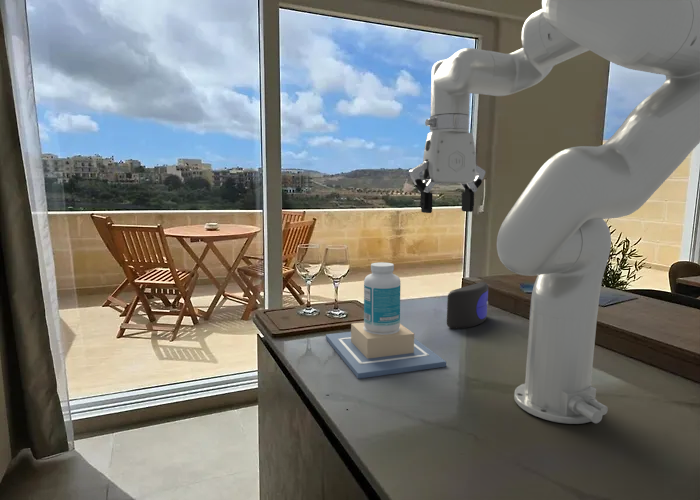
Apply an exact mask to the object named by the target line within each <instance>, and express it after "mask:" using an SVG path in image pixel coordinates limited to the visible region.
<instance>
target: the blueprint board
mask: <svg viewBox="0 0 700 500" xmlns="http://www.w3.org/2000/svg"><path fill="white" fill-rule="evenodd" d="M325 340H326V341H327V342H328V344H329V345H330V346H331V347H332V348H333V350H334V351H335V352H336V354H337V355H338V356H339V357H340V358H341V359H342V361H343V362H344V363H345V364H346V366H347V367H348V368H349V370H350V371H351V372H352V373H353V374H354V376H355V377H356V378H357V379H358V380H359V379H365V378H371V377H372V378H373V377H379V376H386V375H388V376H389V375H393V374H395V375H396V374H402V373H408V372H415V371H417V372H418V371H424V370H430V369H436V368H437V369H438V368H444V367H447V361H446V360H445V359H444V358H442V357H441V356H439V355H438V354H437V353H435V352H434V351H432V350H431V349H430V348H429V347H427V346H426V345H424V343H422V342H421V341H419V340H418V339H416V338H415V333H414V332H412V331H411V330H410V329H408V328H407V327H405V325H403V324H402V323H400V327H399V329H397V330H396V331H393V332H389V333H376V332H372V331H369V330H367V329H366V328H365V326H364V321H363V322H356V323H355V322H353V323H350V331H346V332H338V333H326V334H325Z"/></svg>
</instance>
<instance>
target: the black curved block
mask: <svg viewBox="0 0 700 500" xmlns="http://www.w3.org/2000/svg"><path fill="white" fill-rule="evenodd" d="M488 299H489V285H488V283H487V282H485V281H480V282H477V283H474V284H469V285H466V286H463V287H460V288H456V289H452V290H451V291H449V293H448V294H447V301H446V303H447V305H446V325H447V327H448V328H449V329H451V330H452V329H454V330H460V329H468V328H472V327H476V326H478V325H480V324H483V322H485V321H486V319H487V316H488V305H489V301H488Z"/></svg>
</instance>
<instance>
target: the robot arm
mask: <svg viewBox="0 0 700 500" xmlns="http://www.w3.org/2000/svg"><path fill="white" fill-rule="evenodd" d="M520 40H521V45H522V47H521V48H520V49H516V50H515V51H513V52H510V53H503V52H498V51H493V50H487V49H486V50H485V49H480V48H479V49H478V48H472V47H471V48H470V47H467V48H462V49H459V50H457V51H456V52H454V53H453V54H452V55H451V56H450V57H448V58H446V59H441V60H439V61H437V62H435V63H434V64H433V65H432V68H431V83H430V85H431V87H430V116H429V118H426V119H425V121H424V122H425V123H424V125H425V126H426V127H429V132H427V136H426V139H425V145H424V150H423V159H422V163H420V164H418V165H417V166H414V167H413V168H411V169H410V170H409V171H408V174H409V176H410V179H411V180H412V183H413V185H414V186H415V188H416V189H417V191H418V193H420V200H419V201H420V204H419V205H420V208H421V209H420V210H421V211H420V212H421V213H424V214H432V212H433V196H434V195H433V193H432V192H431V190H432V189H433V188H434V186H436V184H460V186H461V187H462V189H463V191H462V192H461V211H462V212H467V213H469V212H470V213H472V212H474V205H475V203H474V202H475V193H476V192H478V188H479V187H480V186H481V185H482V183H483V179H484V178H485V175H486V173H487V172H486V170H485V169H483V168H482V167H480V166H479V165H477V164H476V163H477V162H476V161H477V160H476V159H477V158H476V147H475V141H474V140H475V139H474V136H473V135H474V134H473V132H470V128H469V127H470V104H471V103H470V100H471V99H470V97H471V96H470V95H471V94H476V95H484V96H485V95H487V96H494V97H505V96H509V95H514V94H516V93H519V92H522V91H523V90H527V89H529V88H531V87H534V86H536V85H537V84H539V83H540V82H542V81H543V80H544V79H545V78H546V77H547V76H548V75H549V74H550V73H551V71H552V69H553V68H554V67H555V66H556V65H558V64H561V63H563V62H565V61H567V60H570V59H572V58H574V57H577V56H579V55H581V54H583V53H586V52H589V51H591V52H592V53H594V54H596V55H598V56H599V57H601V58H603V59H605V60H607V61H608V62H610V63H612V64H615V65H617V66H620V67H622V68H625V69H629V70H633V71H639V72H645V73H650V74H656V75H663V76H665V81H664V82H663V83H662V84H661V86H659V87H658V89H656V90H655V91H653V92H652V93H651V94H649V95H648V96H647V97H646V98H644V99H643V100H642V101H641V102H639V103H638V104H637V105H636V106H635V108H634V109H632V111H630V113H629V114H628V115H627V117H626V118H625V120H624V121H623V122H622V124H621V125H620V126H619V127H618V129H616V131H615V132H614V133H613V135H612V136H611V137H610V138H609V139H608V140H607V141H605V143H604V144H601V145H598V146H595V145H594V146H591V145H590V146H589V145H588V146H587V145H583V146H580V145H578V146H572V147H569V148H565V149H563V150H560V151H559V152H557V153H555V154H553V155H552V156H551V157H550V158H548V160H546V161H545V162H544V163H543V164H542V165H541V166H540V168H539V169H538V170H537V172H536V173H535V174H534V175H533V177H532V178H531V180H530V181H529V183H528V184H527V186H526V187H525V189H524V190H523V191H522V193H521V194H520V196H519V197H518V198H517V200H516V202H514V204H513V206H512V207H511V209H510V210H509V212H508V213H507V215H506V216H505V218H504V219H503V221H502V223H501V225H500V227H499V230H498V233H497V237H496V253H497V255H498V258H499V260H500V262H501V263H502V265H503V266H504V267H505V268H506V269H507V270H509V271H510V272H512V273H514V274H517V275H520V276H530V277H531V276H536V279H535V281H534V284H533V288H532V291H531V297H530V307H529V319H528V320H529V321H528V322H529V323H528V337H527V351H526V354H527V355H526V365H525V378H524V379H525V380H524V383H521V384H520V385H517V387H515V390H514V395H513V396H514V397H513V399H514V401H515V403H516V404H517V405H518V407H519V408H521V409H522V410H523V411H525V412H526V413H528V414H530V415H532V416H534V417H538V418H540V419H542V420H546V421H550V422H553V423H558V424H565V425H566V424H569V425H579V424H586V423H590V422H592V423H594V424H598V423H600V422H601V421H602V419H603V416H604V415H607V413H608V410H609V408H608V406H607V405H605V404H603V403H601V402H600V401H598V399H596V396H597V395H596V394H597V393H596V392H597V388H596V387H593V386H592V375H593V365H594V355H595V342H596V331H597V321H598V314H599V306H600V305H599V303H600V294H601V288H602V282H603V279H604V275H605V274H604V273H605V271H606V267H607V265H608V261H609V257H610V253H611V249H612V248H611V247H612V237H611V236H612V234H611V231H610V227H609V226H608V224H607V223H606V221H605V220H608V219H617V218H622V217H626V216H627V217H628V216H630V215H632V214H633V213H635V212H636V211H638V210H639V209H640V208H641V207H643V206H644V204H645V203H646V202H648V200H649V199H650V198H651V197H652V196H653V195H654V193H655V192H656V191H657V190H658V189H659V188H660V187H661V186H663V184H664V183H665V181H666V180H667V179H668V178H669V177H670V176H671V175H672V174H673V173H674V172H675V171H676V169H678V167H680V166H681V164H682V163H683V162H684V161H685V160H686V159H687V157H688V156H689V155H690V153H692V151H693V150H694V149H696V147H697V146H698V145H699V144H700V0H541V8H540V9H538V10H536V11H535V12H533V13H531V14H530V15H529V16H528V17H527V18H526V19H525V21H524V23H523V25H522V29H521V39H520ZM420 173H422V179H423V180H422V179H421V177H420Z"/></svg>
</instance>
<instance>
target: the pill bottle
mask: <svg viewBox="0 0 700 500" xmlns="http://www.w3.org/2000/svg"><path fill="white" fill-rule="evenodd" d="M394 271H395V264H394V263H392V262H385V261H384V262H381V261H380V262H379V261H378V262H374V263H373V262H372V263H371V264H370V272H371V273H369V274H367V275H366V276H365V277H364V280H363V322H364V326H365V328H366V329H367V330H369V331H372V332H376V333H389V332H393V331H396V330H397V329H399V327H400V324H401V279H400V277H399V276H398V275H396V274H394V273H393V272H394Z"/></svg>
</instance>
